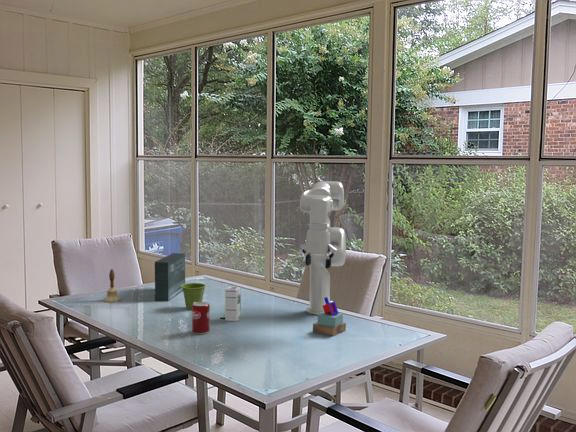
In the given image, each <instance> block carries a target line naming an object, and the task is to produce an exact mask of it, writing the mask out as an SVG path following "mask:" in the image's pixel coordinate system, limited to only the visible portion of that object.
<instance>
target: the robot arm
mask: <svg viewBox="0 0 576 432" xmlns="http://www.w3.org/2000/svg"><path fill="white" fill-rule="evenodd" d="M344 189H345V188H344V185H343V183H342V182H340V181H330V180H329V181H327V180H322V181H318V182H316V183H314V186H313V187H312V188H311V189H308V190H305V191H303V192H302V194H301V196H300V200H299V208H300V210H301V212H303V213H309V222H308V223H307V224H306V225H307V227H309V229H308V230H307V232H306V233H307V234H306V237H305V238H306V239H305V242H304V243H303V244H301V245H300V248H301V252H302V253H303V256H304V257H305V266H308V267H309V307H307V308H306V310H305V311H306V313H308V314H310V315H317V316H318V315H319V314H321V313H323V312H324V309H323V305H325V304H326V303H325V300H324V298H326V297H328V300H329V303H331V302H334V301H333V300H331V295H330V294H331V293H330V292H331V274H330V272H329V270H328V269H330V268H331V267H343V266H344V265H345V263H346V258H347V256H346V254H347V251H346V250H347V249H346V248H347V247H346V246H347V243H346V242H347V241H346V240H347V239H346V237H347V236H346V232H345V229H344V228H342V227H335V226H333V227H331V219H330V218H329V216H328V215H329V213H330V212H331V211H342V209H343V208H344V205H345V190H344Z"/></svg>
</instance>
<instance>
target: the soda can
mask: <svg viewBox="0 0 576 432" xmlns="http://www.w3.org/2000/svg"><path fill="white" fill-rule="evenodd" d="M210 306H211V305H210V303H209V302H207V301H202V302H196V303H193V304H192V309H191V331H192V333H193V334H195V335H205V334H208V333H209V332H210V329H211V328H210V326H211V325H210V321H211V320H210V317H211V315H210V314H211V313H210V312H211V311H210V310H211V307H210Z"/></svg>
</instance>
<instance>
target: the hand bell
mask: <svg viewBox="0 0 576 432" xmlns="http://www.w3.org/2000/svg"><path fill="white" fill-rule="evenodd" d="M108 273H109V276H108V277H109V282H110V285H109V286H110V288H109V289H107V292H106V296H105V298H104V299H103V302H105V303H117V302H120V301H122V300H121V298H120V297H119V296H118V291H117V289H116V288H115V285H114V284H115V283H114V282H115V277H116V275H115V272H114V269H110V271H109V272H108Z"/></svg>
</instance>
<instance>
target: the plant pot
mask: <svg viewBox="0 0 576 432" xmlns="http://www.w3.org/2000/svg"><path fill="white" fill-rule="evenodd" d="M206 286H207V285H206V284H205V283H201V282H189V283H185V284H183V285H181V287H182V289H183V291H182V292H183V298H184V303H185V309H186V310H189V311H192V304H193V303H196V302H203V299H204V292H205V289H206Z"/></svg>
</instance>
